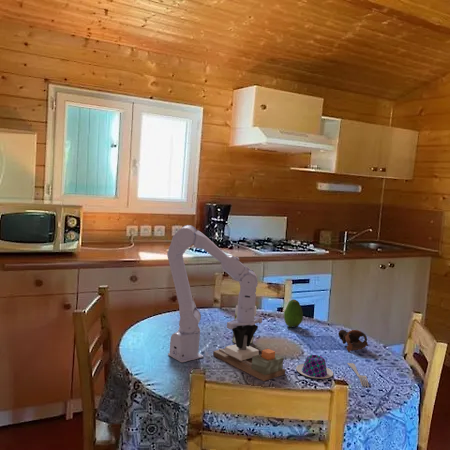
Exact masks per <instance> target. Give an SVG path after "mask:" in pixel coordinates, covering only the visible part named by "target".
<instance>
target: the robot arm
mask: <svg viewBox="0 0 450 450" xmlns="http://www.w3.org/2000/svg"><path fill="white" fill-rule="evenodd" d="M192 245H193V246H192ZM191 246H192V247H193V248H194V249H203V250H204V251H205V252H206V253H208V254H209V255H210V256H211V257H213V258H214V259H215V260H217V262H219V263H220V264H221V265H220V267H221V269H222V270H223V272H225V274H228V275H229V276H230V278H231V279H233V280H234V281H236V282H239V286H240V288H239V292H238V299H237V305H238V309H237V318H236V319H235V318H234V319H232V320H230V321H228V322H226V329H228V330H231V331H232V334H233V333H234V336H235V340H236V343H235V344H236V346H237V347H238V348H242V346H243V340H244V336H245V334H246V335H247V346H251V344H250V342H251V340H252V337H253V335H254V336H255V333H256V332H257V330H258V327H259V326H258V325H256V324H262V323H263V317H261V316H260V315H257V316H255V317H254V312H255V306H256V300H257V298H256V297H257V294H256V293H257V287H258V284H259V282H258V276H257V274H256V272H255V271H254V270H252V269H251V268H250V267H249V266H246V265H245V264H243V263H242V262H241V261H240V258H239V256H234V255H233V254H231V255H227V254H226V252H224V251H223V250H222V249H220V248H219V246H217V244H215V243H214V242H213V241H212V240H211V239H210V238H209V237H208V236H206V235H205V234H204V233H203V232H201V231H200V230H199V229H197V228H196V227H195V226H193V225H190V224H187V225H183V226H182V227H181V228H180V229H178V230H177V231H176V233H174V235H173V236H172V238H171V241H170V245H169V246H168V250H167V252H166V253H167V254H166V255H167V259H168V264H169V268H170V273H171V276H172V281H173V285H174V290H175V292H176V293H175V294H176V298H177V302H178V308H179V309H178V311H179V312H178V313H179V321H178V322H179V323H178V325H179V327H178V330H176V332H174V333H172V334H171V336H170V339H169V340H170V341H169V342H170V343H169V353H167V355H168V356H170V357H171V358H173V359H174V360H176V361H178V362H180V363H185V362H189V361H193V360H197V359H201V358H205V356H204V355H203V354H201V353H199V350H200V337H201V336H200V335H201V328H200V326H199V323H200V321H201V319H202V316H201V315H202V314H201V312H200V311H199V309H198V308H197V306H196V302H195V300H194V298H193V295H192V294H193V293H192V289H191V286H190V282H189V278H188V277H189V276H188V272H187V269H186V268H187V267H186V264H185V260H184V256H183V255H184V254H185V253H186V251H187V249H189V248H190V247H191ZM253 338H254V337H253Z"/></svg>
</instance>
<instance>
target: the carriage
mask: <svg viewBox="0 0 450 450" xmlns="http://www.w3.org/2000/svg"><path fill="white" fill-rule="evenodd" d="M224 348H225V353H227V354H229V355H231V356H233V357H235V358H237V359H239V360H241V361H242V360H246V359H249V358H252V357H253V356H256V355H259V354H260V350H259V349H257V348H255V347H253V346H251V345H249V346H247V335H246V334H245V336H244V340H243V346H242V348H238V347H237V346H236V343H235V344H232V345H228V346H225V347H224Z"/></svg>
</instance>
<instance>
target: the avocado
mask: <svg viewBox="0 0 450 450" xmlns="http://www.w3.org/2000/svg"><path fill="white" fill-rule="evenodd" d="M303 312H304V311H303V309H302V305H301V304H300V302H299V301H298V300H296V298H295V299H293V298H292V299H291V300H289V301H288V303H287V305H286V308H285V309H284V312H283V318H284V323H285V324H286V326H288V327H289V328H296V327H299V326H300V325H301V323H302V322H303V320H304V319H303V318H304V313H303Z"/></svg>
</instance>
